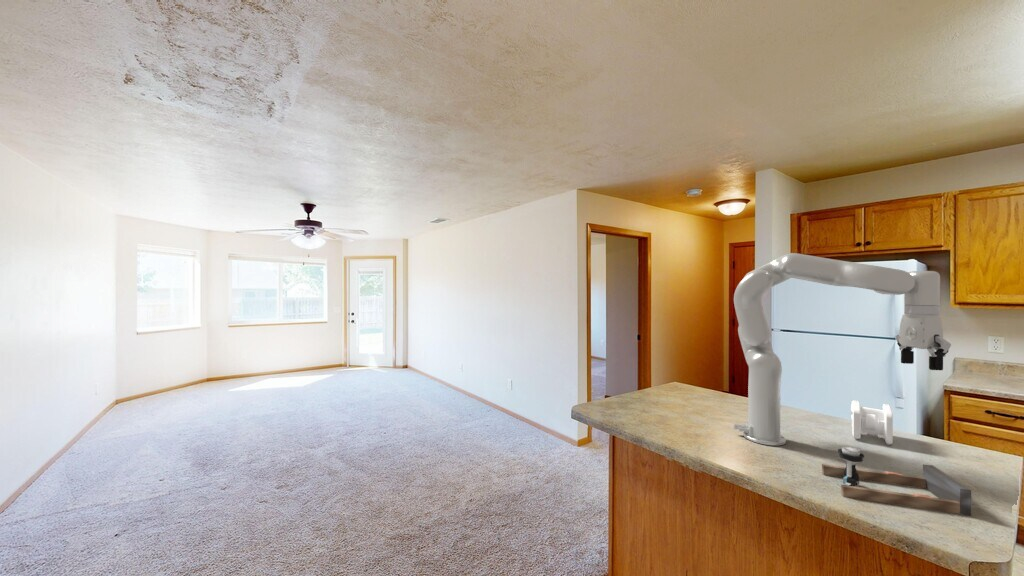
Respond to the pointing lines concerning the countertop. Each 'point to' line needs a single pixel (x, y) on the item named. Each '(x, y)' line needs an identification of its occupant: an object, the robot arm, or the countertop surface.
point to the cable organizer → (872, 422)
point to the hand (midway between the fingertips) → (921, 366)
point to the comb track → (934, 480)
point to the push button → (850, 465)
